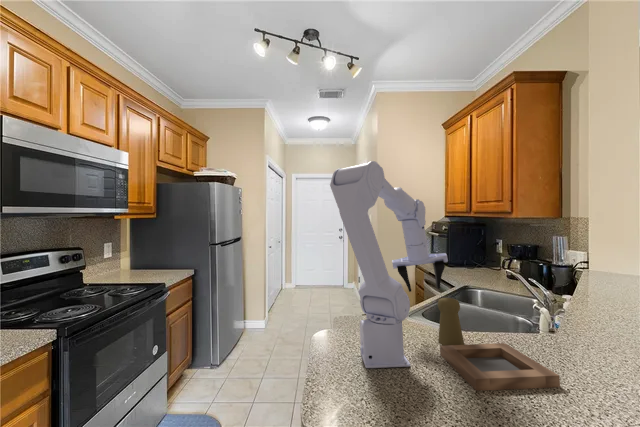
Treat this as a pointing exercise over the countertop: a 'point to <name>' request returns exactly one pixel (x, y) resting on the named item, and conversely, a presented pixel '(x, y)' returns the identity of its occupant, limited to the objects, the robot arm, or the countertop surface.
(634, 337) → the countertop surface
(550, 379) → the holder
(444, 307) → the cork
